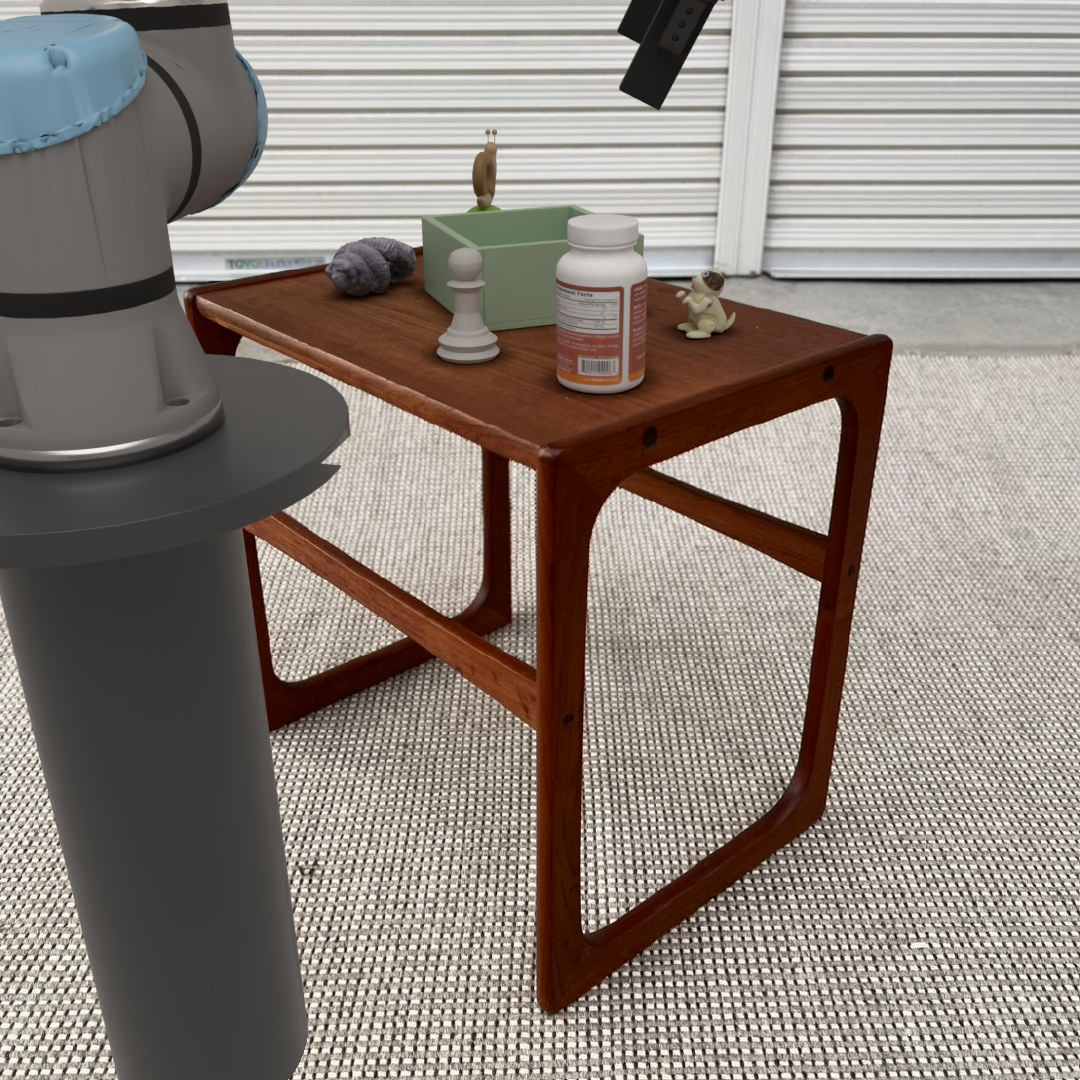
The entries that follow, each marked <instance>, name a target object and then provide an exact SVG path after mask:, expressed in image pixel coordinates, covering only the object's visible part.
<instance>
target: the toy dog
mask: <svg viewBox="0 0 1080 1080" xmlns="http://www.w3.org/2000/svg"><path fill="white" fill-rule="evenodd" d="M690 288H691V289H692V290H691V292H689V293H688V295H687V293H686V292H685V291H684V290H679V291H677V292H676V294H675V297H676V298H679V300H680V303H681V304H682V306H683V307H684V306H686V305H687V309H688V322H683V323H679V324H678V325H677V330H680V331H685V332H686V334H685V337H686V338H688V339H705V338H706V339H707V338H711V336H712V333H719V334H722V333H724V331H726V330H728V329H729V328H730V327H732V325H733V324H734V322H735V319H736V311H735V312H734V311H733V312H732V313H731V315H730V317H729V318H728V319H727V315H726V313H725V309H724V307H723V305H722V302H721V301H720V299H719V296H720V295H721V294H722V292H723V290H724V288H725V278H724V276H723V274H722V273H721V272H720V271H719V270H715V269H704V270H703V271H701V272H700V273H699V274H696V275H694V276H693V277H692V279H691V285H690Z"/></svg>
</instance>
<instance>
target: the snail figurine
mask: <svg viewBox="0 0 1080 1080" xmlns="http://www.w3.org/2000/svg"><path fill="white" fill-rule="evenodd" d="M484 133H485V135H487V142H486V144H485V145H484V148H483V151H479V153H477V154H476V156H475V158H474V161H473V166H472V171H471V181H472V189H473V193H474V195H475V197H476V205H475V206H473V207H471V208H469V209H468V210H467V211H466V212H465V213H470V212H483V211H496V210H502V209H501V207H499V206H496V205H493V204H492V203H493V200H494V197H495V194H496V184H497V173H498V172H497V171H498V170H497V168H498V166H497V153H498V147H497V144H496V135H497V134H498V130H497V129H494V128H493V129H492V130H491V129H489V128H486V129H485V132H484ZM490 135H493V137H494V138H493V139H494V140H493V141H489V140H490V139H489V136H490Z"/></svg>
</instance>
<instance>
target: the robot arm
mask: <svg viewBox="0 0 1080 1080" xmlns="http://www.w3.org/2000/svg"><path fill="white" fill-rule="evenodd" d="M720 1H721V2H725V0H720ZM718 2H719V0H630V2H629V4H628V6H627V9H626V10H625V12H624V15H623V17H622V19H621V21H620V23H619V25H618V28H617V30H616V33H617V34H619V35H621V36H623V37H625V38H627V39H629V40H630V41H633V42H634V43H636V44H639V45H638V48H637V50H636V51H635V54H634V56H633V57H632V60H631V61H630V63H629V66H628V68H627V70H626V72H625V74H624V76H623V78H622V80H621V82H620V84H619V85H618V90H619V91H620V92H622V93H624V94H626V95H628V96H630V97H631V98H634V99H636V100H638V101H640V102H641V103H644V104H645V105H647V106H649V107H651V108H653V109H655V110H657V111H660V110H661V108H662V106H663V104H664V102H665V101H666V99H667V96H668V95H669V93H670V91H671V89H672V87H673V86H674V83H675V81H676V80H677V78H678V76H679V74H680V72H681V70H682V68H683V66H684V65H685V63H686V61H687V59H688V57H689V55H690V53H691V52H692V49H693V47H694V46H695V44H696V42H697V40H698V37H699V36H700V34H701V32H702V30H703V29H704V26H705V24H706V23H707V21H708V19H709V17H710V15H711V14H712V12H713V10H714V8H715V6H716V4H717V3H718ZM38 7H39V12H40V14H35V15H22V16H16V17H11V18H10V17H9V18H7V19H4V20H0V468H2V469H7V470H12V471H19V472H29V473H53V474H54V473H79V472H91V471H100V470H107V469H114V468H120V467H126V466H131V465H135V464H140V463H144V462H148V461H152V460H156V459H159V458H162V457H165V456H169V455H172V454H174V453H177V452H180V451H182V450H185V449H187V448H189V447H191V446H193V445H195V444H197V443H199V442H201V441H203V440H204V439H206V438H207V437H209V436H210V435H212V434H213V433H214V432H215V431H216V430H217V429H218V428H219V427H220V426H221V424H222V423H223V420H224V406H223V399H222V393H221V390H220V387H219V383H218V380H217V378H216V375H215V373H214V371H213V369H212V367H211V365H210V363H209V361H208V359H207V357H206V355H205V354H206V353H205V350H204V349H203V347H202V345H201V343H200V341H199V339H198V337H197V335H196V333H195V331H194V328H193V327H192V325H191V323H190V321H189V318H188V316H187V315H186V312H185V310H184V308H183V306H182V305H181V302H180V299H179V295H178V289H177V284H176V283H177V282H176V277H175V271H174V269H175V268H174V265H173V264H174V262H173V254H172V248H171V242H170V234H169V228H168V225H169V224H172V223H174V222H177V221H179V220H180V219H183V218H185V217H187V216H192V215H197V214H200V213H202V212H205V211H207V210H209V209H212V208H214V207H215V208H216V206H218V205H220V204H221V203H223V202H224V201H225V200H226V199H228V198H229V197H230V196H232V194H233V193H235V192H236V191H237V190H238V189H239V188H240V187H241V186H243V185H244V184H245V182H246V181H247V180H249V178H250V177H251V175H252V174H253V173H254V171H255V169H256V168H257V167H258V164H259V162H260V160H261V158H262V156H263V153H264V150H265V147H266V143H267V138H268V130H269V113H268V105H267V99H266V96H265V93H264V90H263V85H262V84H261V81H260V79H259V77H258V75H257V72H256V71H255V69H254V68H253V67H252V65H251V63H250V62H249V61H248V60H247V59H245V57H244V56H243V55H242V53H240V51H239V50H238V49H237V48H236V47H235V40H234V33H233V32H234V31H233V27H232V22H231V15H230V8H229V2H228V0H42V2H41V3H40V5H38Z"/></svg>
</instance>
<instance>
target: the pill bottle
mask: <svg viewBox="0 0 1080 1080" xmlns="http://www.w3.org/2000/svg"><path fill="white" fill-rule="evenodd" d="M638 233H639V220H638V219H637V218H635V217H633V216H629V215H625V214H624V215H623V214H615V213H613V214H612V213H595V214H592V215H582V216H577V217H574V218H571V219H569V220H568V224H567V239H568V244H569V245H571V250H570V252H568V253H566V254H565V255H563V256H562V257H561V258H560V260H559V262H558V264H557V268H556V324H555V328H556V329H555V338H556V339H555V343H556V344H555V350H556V351H555V352H556V353H555V355H556V356H555V357H556V358H555V362H556V363H555V365H556V366H555V367H556V368H555V369H556V371H555V372H556V378H557V380H558V382H559V384H561V385H562V386H563V387H565V388H568V389H569V390H572V391H576V392H580V393H587V394H598V395H599V394H600V395H603V394H604V395H605V394H606V395H607V394H616V393H617V394H618V393H621V392H626V391H628V390H631V389H634V388H635V387H637V386H639V385H640V384H641V383H642V381H644V378H645V372H646V347H647V346H646V343H647V342H646V341H647V340H646V339H647V338H646V337H647V313H648V312H647V308H648V307H647V306H648V305H647V304H648V280H649V279H648V265H647V262H646V260H645V258H644V256H643V257H642V256H641V255H640V254H638V253H637V252H635V251H634V249H633V246H634V245H636V244H637V239H638V237H639V236H638Z"/></svg>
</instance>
